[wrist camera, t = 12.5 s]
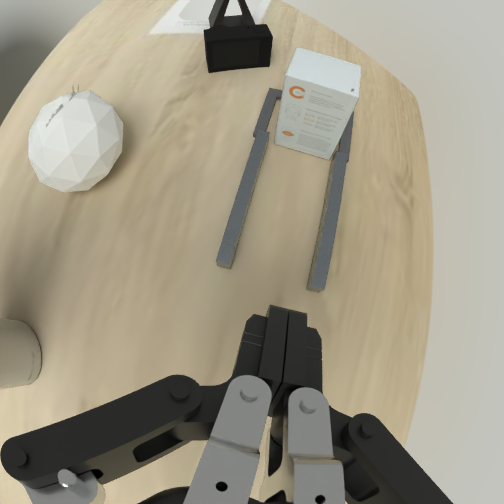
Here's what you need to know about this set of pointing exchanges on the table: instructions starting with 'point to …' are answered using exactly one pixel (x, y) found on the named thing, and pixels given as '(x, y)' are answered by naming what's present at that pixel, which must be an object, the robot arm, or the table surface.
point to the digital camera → (237, 47)
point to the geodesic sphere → (75, 141)
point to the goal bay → (267, 111)
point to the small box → (316, 102)
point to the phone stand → (219, 19)
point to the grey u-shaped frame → (326, 225)
